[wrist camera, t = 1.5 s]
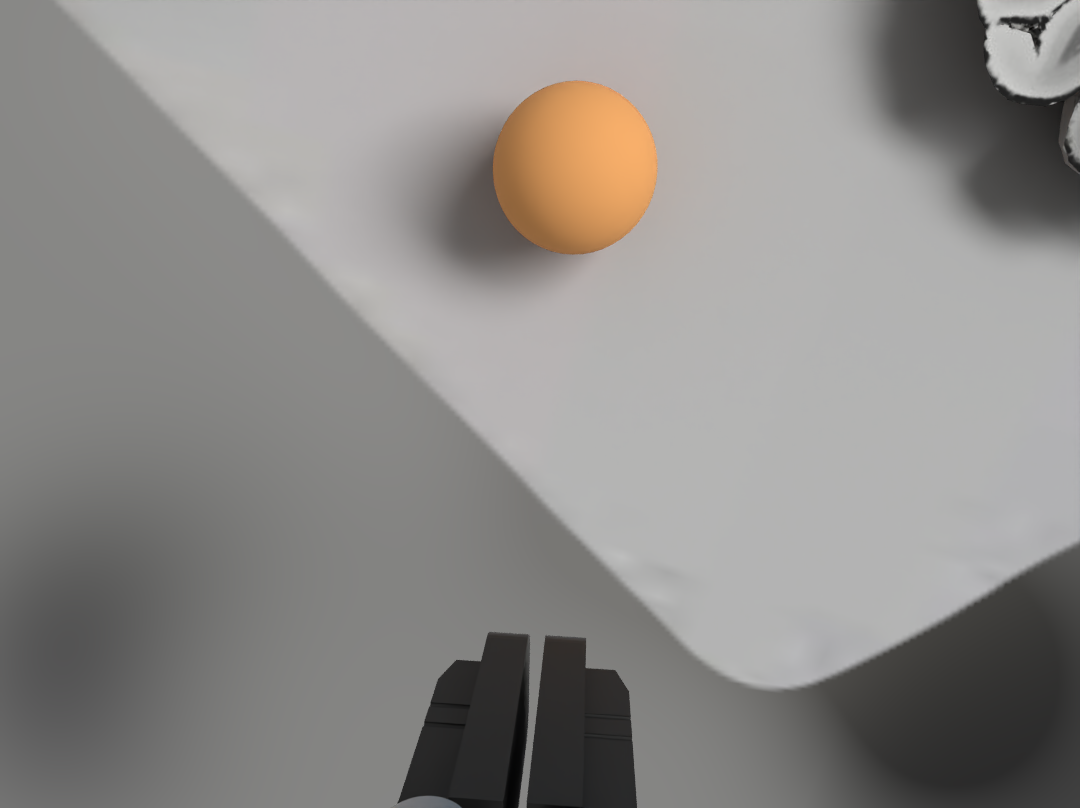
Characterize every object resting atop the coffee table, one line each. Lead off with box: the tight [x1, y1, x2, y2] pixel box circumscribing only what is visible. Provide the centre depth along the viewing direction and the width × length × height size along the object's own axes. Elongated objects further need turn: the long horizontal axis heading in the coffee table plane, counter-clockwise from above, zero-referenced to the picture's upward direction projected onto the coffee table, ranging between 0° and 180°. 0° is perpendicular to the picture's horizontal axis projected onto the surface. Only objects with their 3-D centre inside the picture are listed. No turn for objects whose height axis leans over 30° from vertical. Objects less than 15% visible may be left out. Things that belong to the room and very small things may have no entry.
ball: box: [493, 81, 657, 254], centre depth 23 cm, size 6×6×6 cm
